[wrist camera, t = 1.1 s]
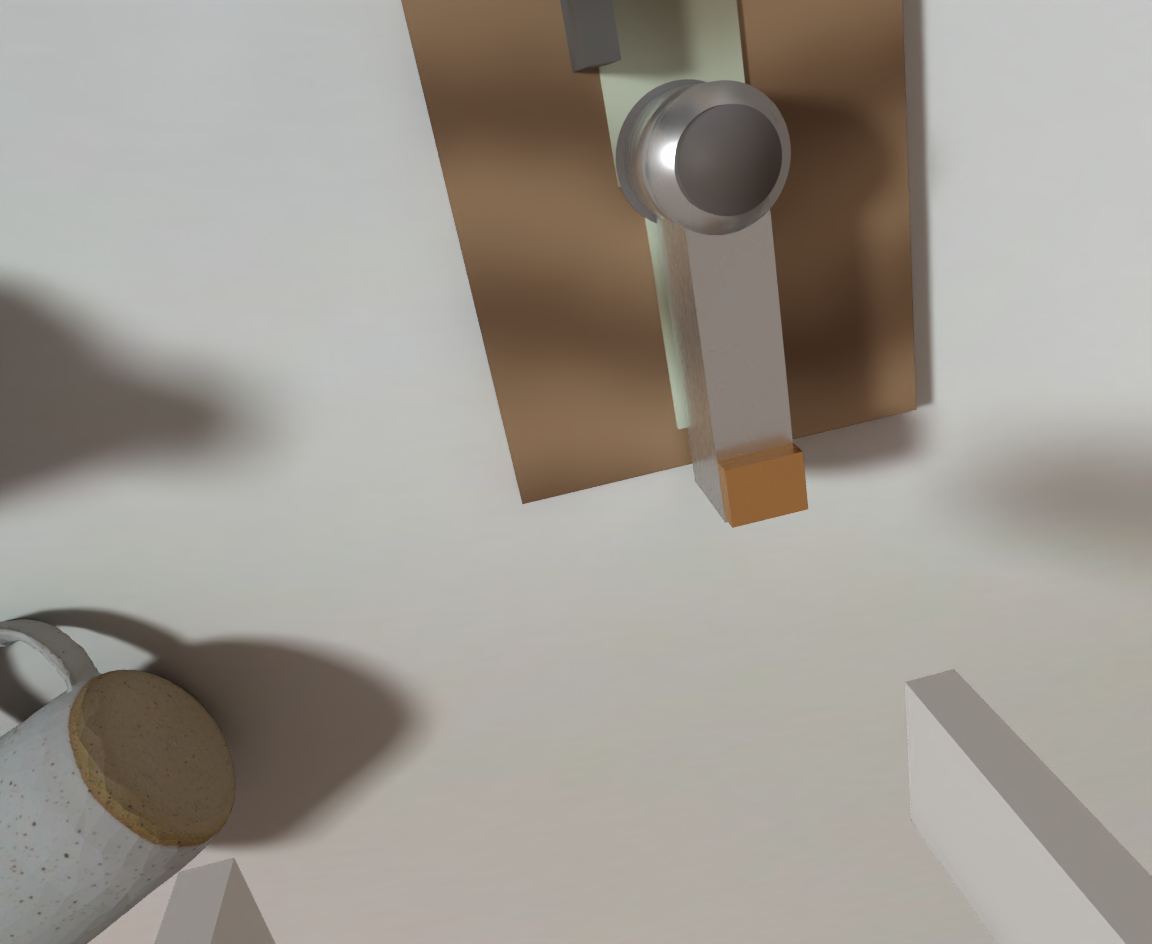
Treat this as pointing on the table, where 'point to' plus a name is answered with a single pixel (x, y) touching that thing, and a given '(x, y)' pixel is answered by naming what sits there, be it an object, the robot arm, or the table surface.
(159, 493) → the table surface
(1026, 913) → the robot arm
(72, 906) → the ceramic mug
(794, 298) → the lock board
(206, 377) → the table surface
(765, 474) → the swing bar
